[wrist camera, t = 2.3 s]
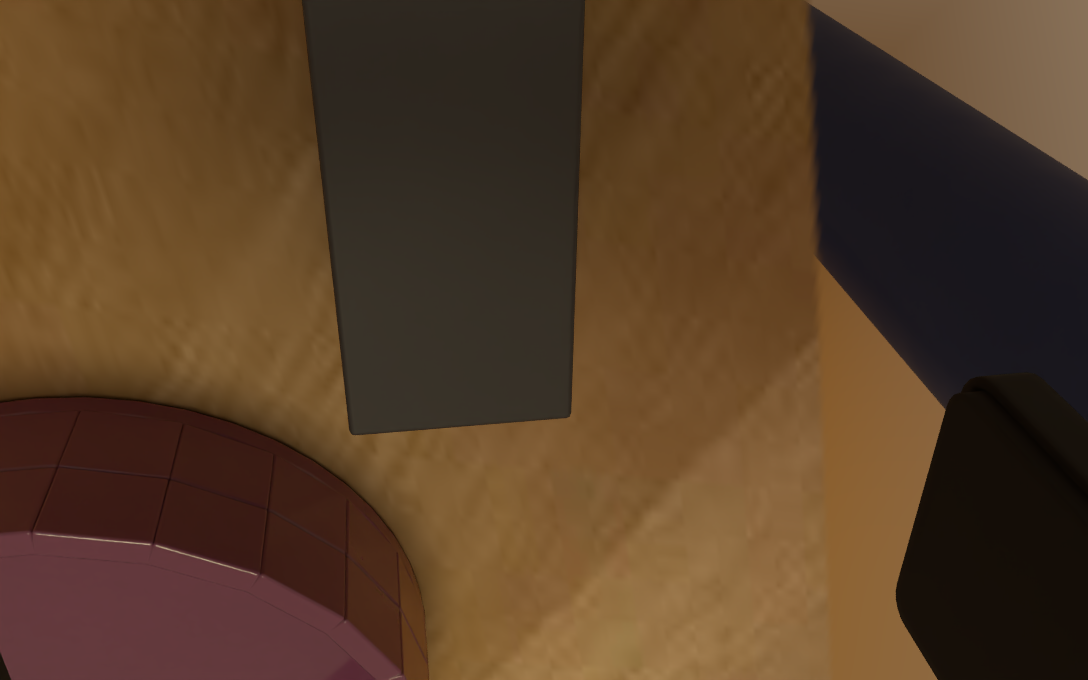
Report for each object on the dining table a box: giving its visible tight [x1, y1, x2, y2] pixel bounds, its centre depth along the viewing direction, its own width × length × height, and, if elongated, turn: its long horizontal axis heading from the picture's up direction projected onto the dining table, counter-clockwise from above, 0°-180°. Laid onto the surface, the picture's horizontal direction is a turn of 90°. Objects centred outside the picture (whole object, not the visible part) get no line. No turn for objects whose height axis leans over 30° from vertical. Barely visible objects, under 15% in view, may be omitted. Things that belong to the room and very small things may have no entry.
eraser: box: [302, 0, 585, 435], centre depth 18 cm, size 4×8×5 cm, turn 179°
